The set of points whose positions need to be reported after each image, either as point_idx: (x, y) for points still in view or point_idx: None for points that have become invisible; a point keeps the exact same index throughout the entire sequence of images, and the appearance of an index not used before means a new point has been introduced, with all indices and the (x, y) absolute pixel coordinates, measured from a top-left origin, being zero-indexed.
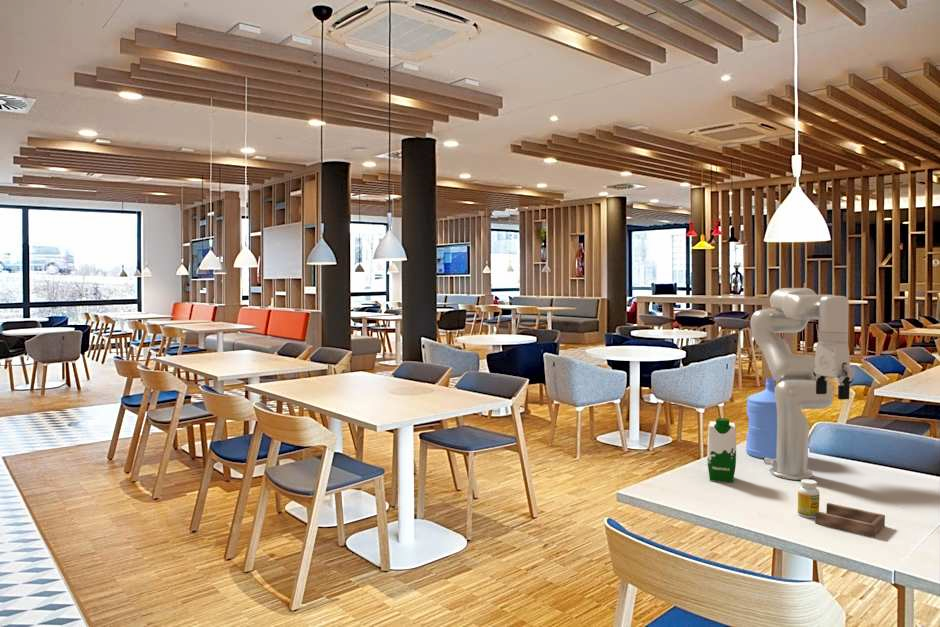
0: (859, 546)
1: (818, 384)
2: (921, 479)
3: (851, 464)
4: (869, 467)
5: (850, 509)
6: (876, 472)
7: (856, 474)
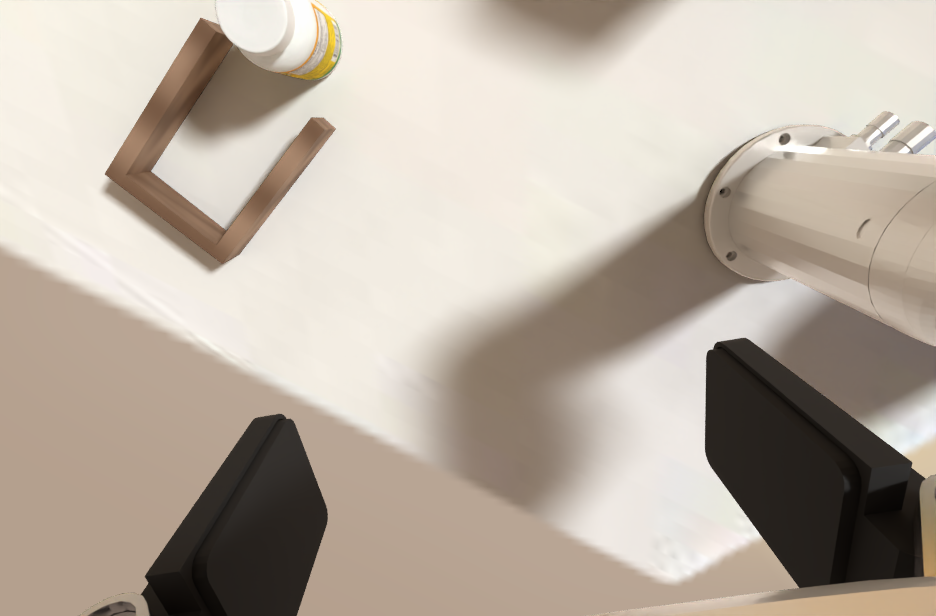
0: (31, 79)
1: (800, 440)
2: (653, 552)
3: None
4: None
5: (265, 179)
6: None
7: None
